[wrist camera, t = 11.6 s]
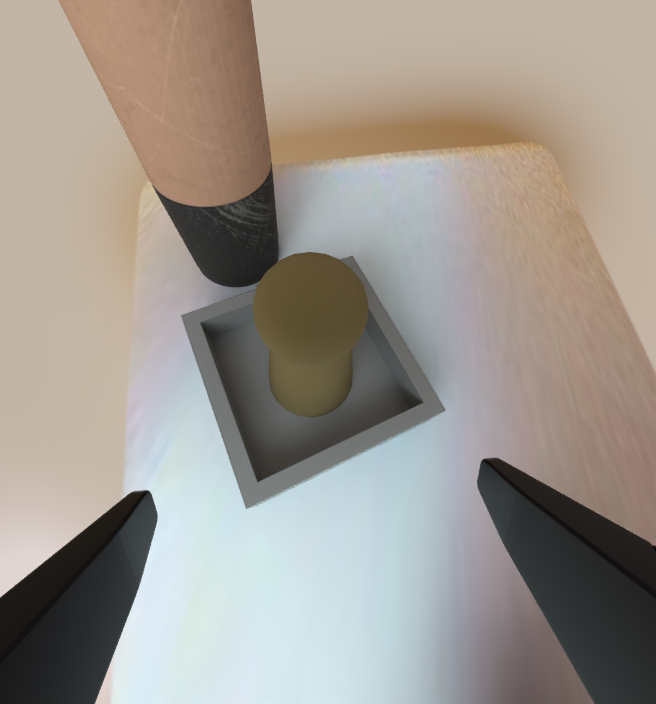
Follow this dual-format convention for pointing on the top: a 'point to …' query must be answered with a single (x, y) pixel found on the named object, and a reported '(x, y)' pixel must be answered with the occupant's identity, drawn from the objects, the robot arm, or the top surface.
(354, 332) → the cork
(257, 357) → the gray square tray
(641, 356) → the top surface
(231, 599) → the top surface
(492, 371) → the top surface
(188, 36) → the travel mug
